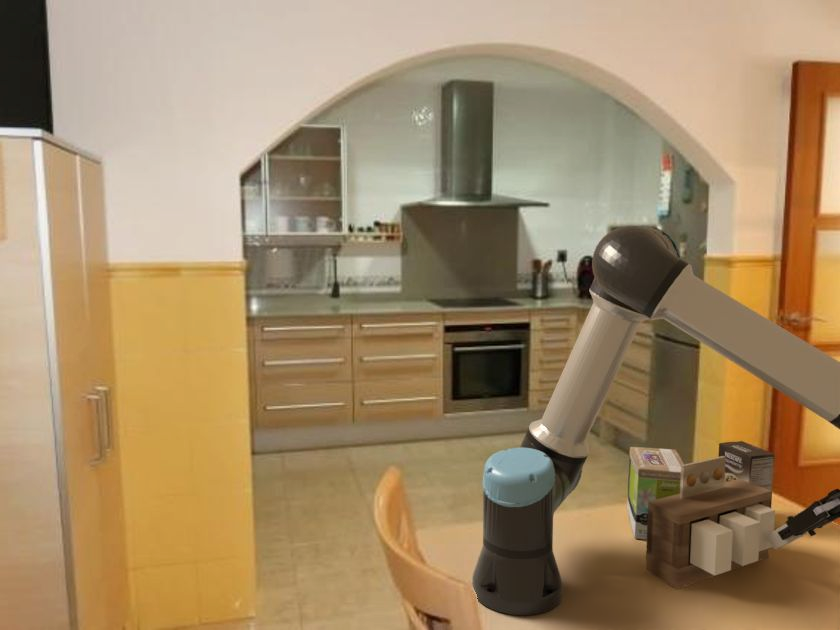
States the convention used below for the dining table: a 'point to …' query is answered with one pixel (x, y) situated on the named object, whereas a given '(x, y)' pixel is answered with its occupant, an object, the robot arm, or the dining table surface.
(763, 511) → the right button
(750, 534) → the middle button
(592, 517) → the dining table surface
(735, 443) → the coffee box
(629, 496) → the tea box
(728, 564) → the left button
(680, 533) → the console
